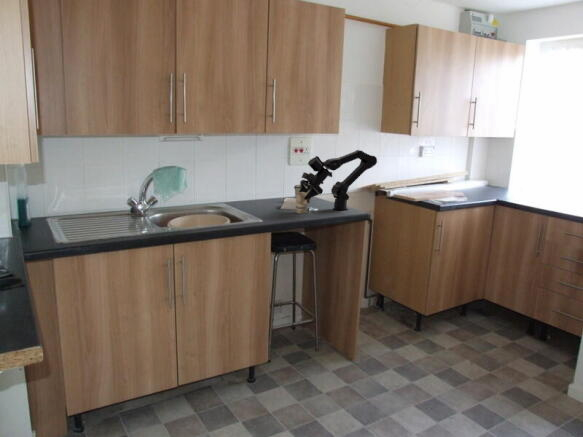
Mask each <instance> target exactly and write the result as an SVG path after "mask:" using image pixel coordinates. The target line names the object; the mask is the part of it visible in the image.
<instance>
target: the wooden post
mask: <svg viewBox="0 0 583 437" xmlns="http://www.w3.org/2000/svg"><path fill="white" fill-rule="evenodd" d="M306 195H307V193H305V192H296V198H295V199H296V210H295V213H297V214H307V208H308V207H307V205H308V203H307V200H305V199H304V198H305V196H306Z"/></svg>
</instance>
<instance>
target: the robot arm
mask: <svg viewBox="0 0 583 437" xmlns="http://www.w3.org/2000/svg"><path fill="white" fill-rule="evenodd" d="M357 159H359V160H360V163H359V165H358V166H357V167H356V168H354V170H352V172H351V173H349V175H347V177H346V178H345V179H343V180H342V181H336V182H335V183H334V184H333V185H332V188H331V189H330V190H331V194H332V196H333V198H334V202H333V204H334V205H333V206H334V207H332V209H333V210H336V211H339V212H340V211H349V208H348V207H347V204H348V202H347V201H349V198H350V195H349V194H348V193H347V192H348V190H349V187H350V186H352V185H353V183H354V182H356V180H358V179H359V177H360V176H362V175H363V173H365V172H366V171H367V170H369V169H371V168H374V166H376V165H377V163H378V158H377V156H375V155H372V154H371V155H370V154H368V153H367V152H364V151H363V150H360V149H357V150H354V151H353V152H350V153H347V154H345V155H343V156H339V157H335V158H328V159H326V160H325V161H322V160H321V159H320V157H319V156H317V155H315V156H314V157H313V158H311V159H310V160H309V161H308V162H307V165H308V166H309V168H311V169H312V170H313V172H316V173H315V174H314V173H312V172H309V173H307V172H303V173H302V176H301V180H300V181H299V185H301V188H300V190H299V192H305V193H306V192H308V190H310V191H309V192H308V194H307V195H306V196H305V198H304V199H305V200H307V199H309V198H311V199H312V198H314V197H317V196H319V195H322V194H323V191H324V189H323V188H322V187H321V185H323V184H324V181H325V180H326V179H327V178H328V177H329V178H333V172H334V171H337V170H338V169H340V168H341V167H342V166H343V165H344V164H345V165H346V164H348V163H349V162H352V161H355V160H357ZM329 170H330V171H329ZM332 171H333V172H332Z"/></svg>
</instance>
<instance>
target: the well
mask: <svg viewBox="0 0 583 437" xmlns="http://www.w3.org/2000/svg"><path fill="white" fill-rule="evenodd" d="M280 210H293V211H296V198H292V197H291V198H289V197H286V198H284V200H283V204H282V205H281V207H280Z"/></svg>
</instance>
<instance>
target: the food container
mask: <svg viewBox="0 0 583 437" xmlns="http://www.w3.org/2000/svg"><path fill="white" fill-rule="evenodd" d="M300 188H301V185H300V184H294V187H293V189H294V194H295V195H294V199H296V192H299V190H300ZM309 191H310V190H308V192H309ZM308 192H306V193H307V194H308ZM311 200H312V197H311V198H309V199H307V204H310V203H311Z"/></svg>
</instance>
